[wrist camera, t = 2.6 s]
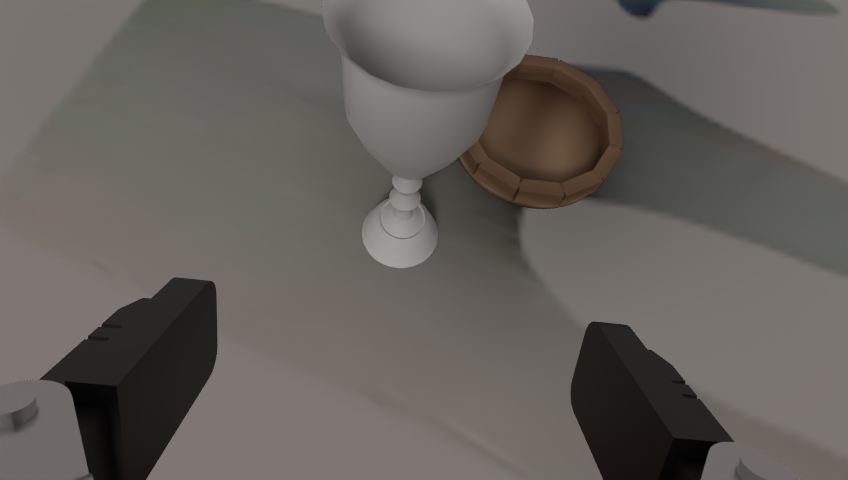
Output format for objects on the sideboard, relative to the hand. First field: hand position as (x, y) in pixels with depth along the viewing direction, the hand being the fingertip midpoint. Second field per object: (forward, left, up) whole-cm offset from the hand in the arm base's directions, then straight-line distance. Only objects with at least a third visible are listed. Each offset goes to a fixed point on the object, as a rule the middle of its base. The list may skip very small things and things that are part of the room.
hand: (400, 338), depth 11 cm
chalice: (0, -12, -20) cm, 23 cm away
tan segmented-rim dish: (-9, -21, -20) cm, 30 cm away
